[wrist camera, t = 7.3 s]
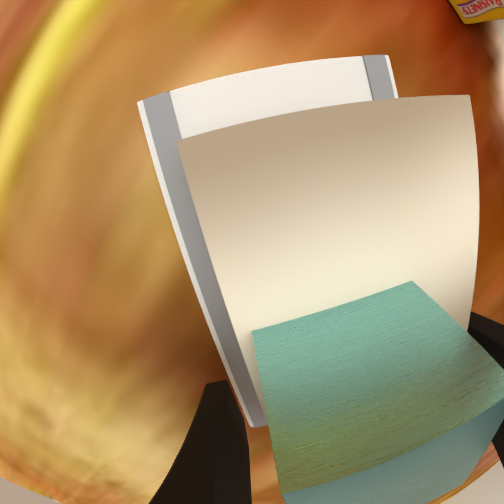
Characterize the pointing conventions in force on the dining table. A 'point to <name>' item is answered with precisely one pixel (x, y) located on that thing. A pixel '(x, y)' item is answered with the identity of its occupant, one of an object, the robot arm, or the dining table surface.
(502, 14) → the candy box
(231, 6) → the dining table surface
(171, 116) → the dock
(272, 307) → the thick cream slab
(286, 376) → the matte teal cube
